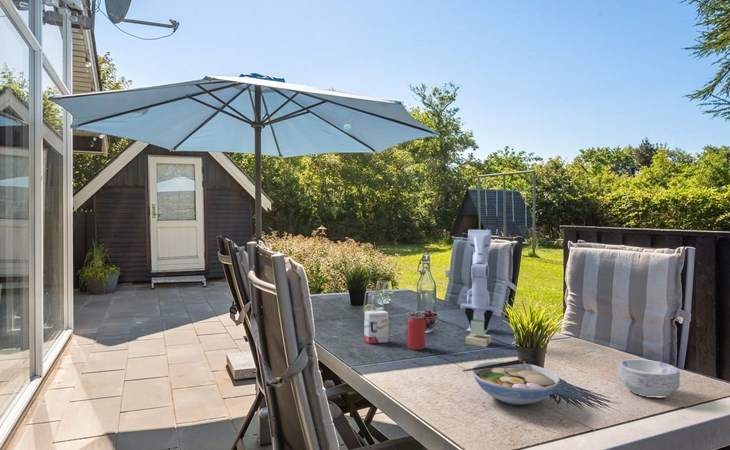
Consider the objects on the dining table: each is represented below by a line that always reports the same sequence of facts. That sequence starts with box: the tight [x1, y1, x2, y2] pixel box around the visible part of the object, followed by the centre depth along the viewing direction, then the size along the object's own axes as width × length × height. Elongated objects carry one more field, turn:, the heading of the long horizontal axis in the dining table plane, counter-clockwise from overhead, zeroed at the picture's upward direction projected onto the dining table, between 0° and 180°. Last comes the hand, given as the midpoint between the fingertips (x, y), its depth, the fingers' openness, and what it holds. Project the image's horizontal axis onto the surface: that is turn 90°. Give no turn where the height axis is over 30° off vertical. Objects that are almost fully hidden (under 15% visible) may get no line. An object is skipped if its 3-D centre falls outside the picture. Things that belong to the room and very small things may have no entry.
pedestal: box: [464, 333, 492, 348], centre depth 191 cm, size 8×8×3 cm
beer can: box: [407, 314, 427, 351], centre depth 182 cm, size 7×7×12 cm
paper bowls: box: [617, 358, 681, 397], centre depth 139 cm, size 15×15×8 cm
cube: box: [469, 319, 487, 335], centre depth 191 cm, size 5×5×5 cm
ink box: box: [363, 310, 389, 345], centre depth 190 cm, size 9×5×12 cm, turn 113°
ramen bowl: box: [461, 357, 561, 406], centre depth 132 cm, size 25×23×8 cm
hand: (478, 328), depth 191 cm, fingers closed on cube, 5 cm apart
